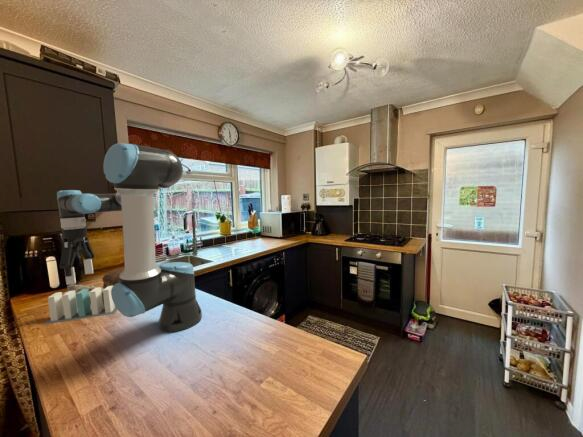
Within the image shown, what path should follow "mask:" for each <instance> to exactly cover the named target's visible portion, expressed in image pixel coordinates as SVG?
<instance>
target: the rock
mask: <svg viewBox="0 0 583 437" xmlns="http://www.w3.org/2000/svg"><path fill="white" fill-rule="evenodd" d="M66 288H67V291H65V292H63V293H62V295H64V294H65V293H67V292H69V291H74V290H75V293H78V292H79V291H81V290H82V289H88V291H89V298H90V291H92V290H93V289H94V288H98V286H95V285H93V284H92V285H90V286H89V285H83V284H77V283H75V284H68V285H67V286H66ZM103 290H104V288H103V287H101V293H102V297H103ZM76 301H77V299H76ZM77 309H78V306H77Z"/></svg>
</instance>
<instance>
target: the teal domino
mask: <svg viewBox="0 0 583 437" xmlns="http://www.w3.org/2000/svg"><path fill="white" fill-rule="evenodd" d="M76 299H77V306H78V308H77V309H78V314H79V317H83V316H86V315H87V314H88V313H89V312H90V311H91V309H92V308H91V300H90V297H89V291H88V289H82V290H81V291H79V292H78V293H76Z"/></svg>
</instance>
